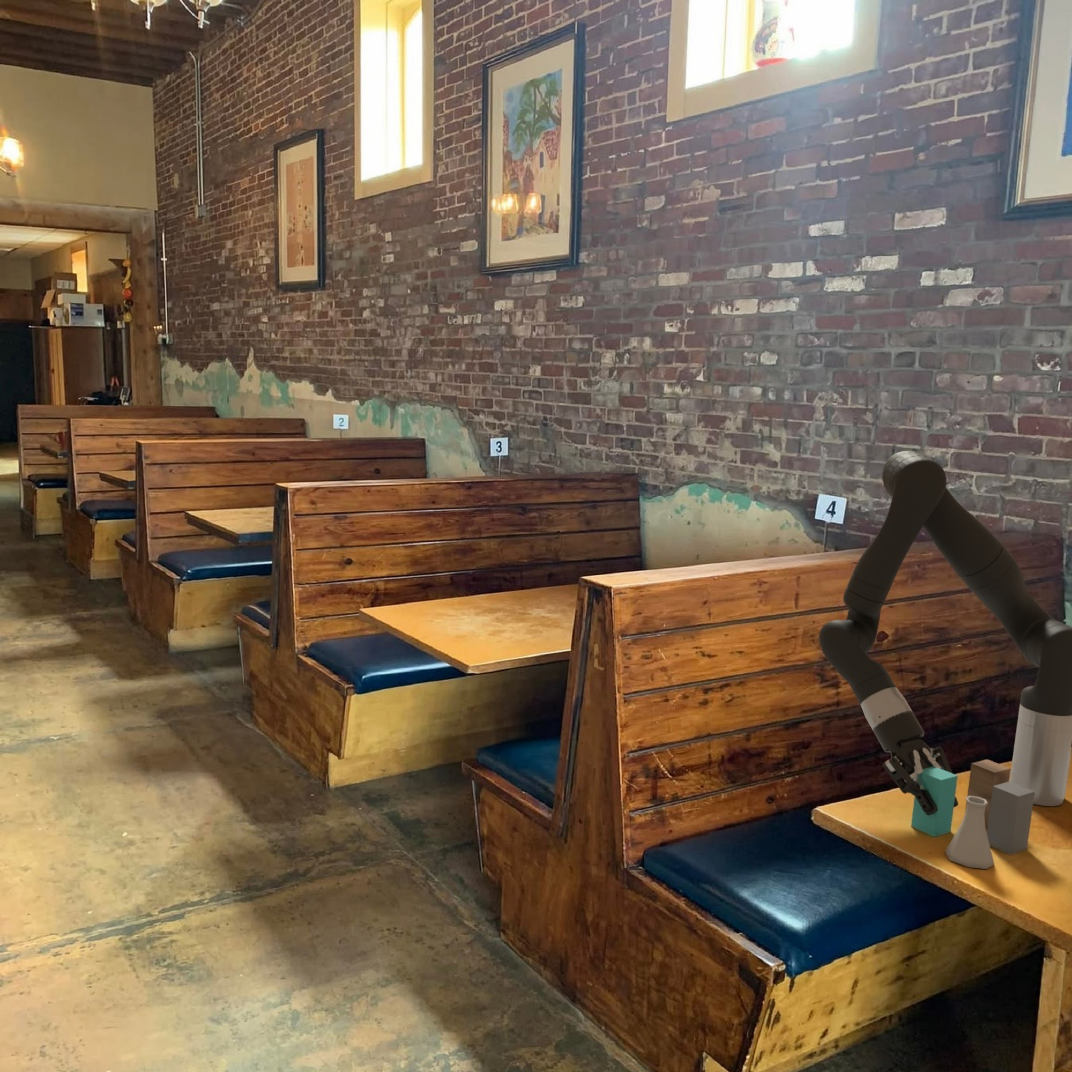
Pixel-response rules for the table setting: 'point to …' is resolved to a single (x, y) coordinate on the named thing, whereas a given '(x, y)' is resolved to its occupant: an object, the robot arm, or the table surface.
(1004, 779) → the walnut post
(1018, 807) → the charcoal post
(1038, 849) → the table surface
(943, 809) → the teal post
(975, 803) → the flask
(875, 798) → the table surface
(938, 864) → the table surface
